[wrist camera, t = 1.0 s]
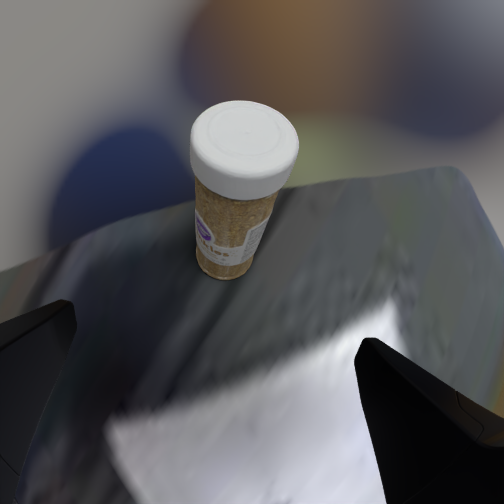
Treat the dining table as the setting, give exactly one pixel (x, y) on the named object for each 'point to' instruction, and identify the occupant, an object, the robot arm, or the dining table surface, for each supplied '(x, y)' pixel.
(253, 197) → the sprinkles bottle
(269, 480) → the dining table surface
